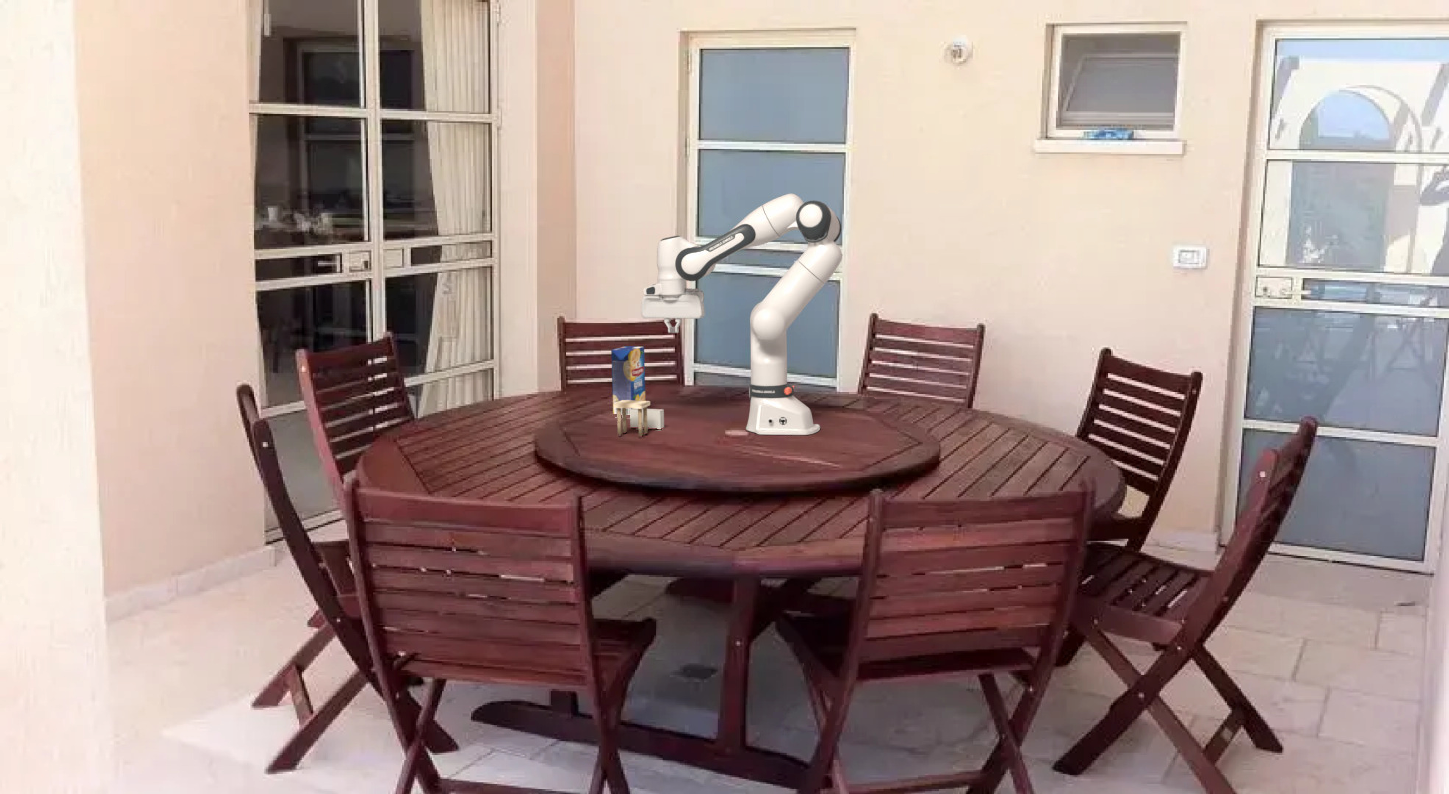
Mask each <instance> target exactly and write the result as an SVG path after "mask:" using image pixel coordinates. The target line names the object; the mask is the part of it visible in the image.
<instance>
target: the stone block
mask: <svg viewBox="0 0 1449 794" xmlns="http://www.w3.org/2000/svg"><path fill="white" fill-rule="evenodd" d="M664 411H665V410H664V408H661V409H658V408H647V427H649V428H657V429H661V428H663V427H664V428H665V412H664ZM629 427H638V409H631V410H630V418H629ZM642 427H643V409H642Z"/></svg>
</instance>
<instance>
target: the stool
mask: <svg viewBox="0 0 1449 794" xmlns="http://www.w3.org/2000/svg"><path fill="white" fill-rule="evenodd" d="M649 406H651V401H650V400H645V401H634V400H621V401H619V402H616V403H614V404H613V403H612V408H613V407H614V408H617V417H616V422H617V423H616V424H617V427H616V428H617V435H618V434H619V435H621V434H622V435H623V432H627V433H628V431H627V430H628V429H627V427H628V426H627V418H626V408H633V409H638V429H637V430H638V437H639V436H642V435H643V436H644V433H648V432H649V431H648V427H647V409H648V407H649ZM621 408H622V418H621ZM642 408H643V427H644V430H643V428H642Z"/></svg>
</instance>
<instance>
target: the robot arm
mask: <svg viewBox="0 0 1449 794" xmlns="http://www.w3.org/2000/svg"><path fill="white" fill-rule="evenodd" d="M795 230H796V231H797V230H798V231H800V233H801V234H802V237H803V238H804V240H805V242H807V246H806V248H805V250H804V252H803V253H802V254H801V255H800V256H799V258H798V259H797V260H796V261H795V262H793V264H792V265H791V266H790V268H789V269H787V270H786V272H785V273H784V274H783V275H782V276H781V278H780V279H779V280H778V282H777V283H776V284H775V285H774V287H772V288H771V290H770V292H768V294H767V295H766V296H764V297H765V298H763V300H762V301H760V302H758V303H757V304H756V305H755V306H754V307H753V309H751V312H750V317H749V320H750V321H749V323H750V324H749V325H750V327H749V328H750V383H749V388H748V393H749V394H748V396H749V402H750V403H749V404H750V405H749V414H748V420H747V424H746V427H745V430H746V431H748V432H752V433H756V435H772V436H773V435H776V436H777V435H781V436H782V435H784V436H785V435H786V436H788V435H789V436H791V435H792V436H806V435H813V434H816V433H818V432H819V431H820V429H821V426H820V424H818V423H814V420H813V415H812V410H811V409H810V408H809V407H808V406H807V405H806V404H804V403H803V402H802V401H800V399H798V398H796V396H794V390H795V385H791V384H790V383H788V352H787V351H788V349H787V346H788V345H787V344H788V343H787V337H788V336H787V330H788V329H789V328H790V326H791V325H792V324H793V323H794V321H795V320H796V319H797V317H799V315H800V314H801V313H802V311H803V310H804V308H805V307H806V306H807V305H808V304H810V303H809V302H811V300H812V299H813V298H814V297H815V296H816V295H817V294H818V292H820V290H822V288H824V285H825V284H826V283H827V282H828V281H829V280H830V279H831V277H832V276H833V275H834V273H835V272H836V270H837V269H838V267H839V266H840V264H841V262H842V260H843V253H842V250H841V248H840V247H839V245H838V244H837V243H836V242H837V241H838V239H840V236H841V235H842V223H841V220H840V218H839V217H838V216H837V215H836V213H835V211H834V210H832V209H831V208H830V207H829V206H828V205H827V204H825V203H824V202H822V201H819V200H809V201H808V200H807V201H806V202H804V201H803V199H802V198H801V197H800V196H798V195H797V194H795V193H787V194H784V195H781V196H779V197H776V198H774V199H771V200H769V201H767V202H766V203H763V204H762V205H761V206H758V207H757V208H755V209H754V210H753V211H751V212H749V214H747V215H746V216H745V217H744V218H743V219H742V220H741V221H740V222H739V223H737V224H736V225H735V226H734V227H733V228H731V229H730V230H728V231H727V232H726V233H724V234H722V235H721V236H718V237H717V238H715V239H713V240H711V241H710V242H708V243H706V244H704V245H699V244H696V243H693V242H691V241H689V240H687V239H685V238H684V237H683V236H682V235H673V236H670V237H664V238H662V239H660V240H659V241H658V243H657V248H656V250H657V251H656V267H657V269H658V275H657V283H655V284H652V285H650V286H646V287H644V288H643V290H642V292H643V296H642V298H641V304H640V315H641V316H642V318H643V319H664V321H663V322H664V324H665V325H666V327H667V332H668V334H678V333H680V332H679V331H680V330H679V329H680V325H682V321H683V319H694V320H695V319H702V318H704V317H705V315H706V313H705V304H704V300H705V294H704V292H703V291H702V290H701V289H700V288H689V287H688V288H687V281H688V282H695V281H698V280H701V279H702V278H704V277H706V276H709V275H710V274H711V273H712V272H713V271H714V270H715V268H716V264H717V262H720V261H722V260H723V259H725V258H727V257H729V256H730V255H733V254H735V253H736V252H738V251H742V250H745V249H748V248H753V247H758V246H761V245H765V244H768V243H770V242H773V241H774V240H777V239H778V238H781V237H783V235H785V234H788V233H789V232H792V231H795ZM672 319H675V323H676V324H675V326H672V324H671V323H670V322H671V321H672Z"/></svg>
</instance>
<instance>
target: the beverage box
mask: <svg viewBox="0 0 1449 794" xmlns="http://www.w3.org/2000/svg"><path fill="white" fill-rule="evenodd" d="M610 351H611V354H610V355H611V386H612V405H613V404H614V403H616V402H619V401H621V400H634V401H646V374H645V373H646V372H645V370H646V367H645V365H646V364H645V363H646V362H645V346H638V345H637V346H635V345H634V346H633V345H632V346H631V345H627V346H626V345H624V346H622V347H617V348H614V349H611V350H610ZM631 409H633V408H626V415H630V410H631ZM642 409H643V408H642ZM613 414H617V408H614V407H613V406H612V415H613ZM621 415H622V408H621Z"/></svg>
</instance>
